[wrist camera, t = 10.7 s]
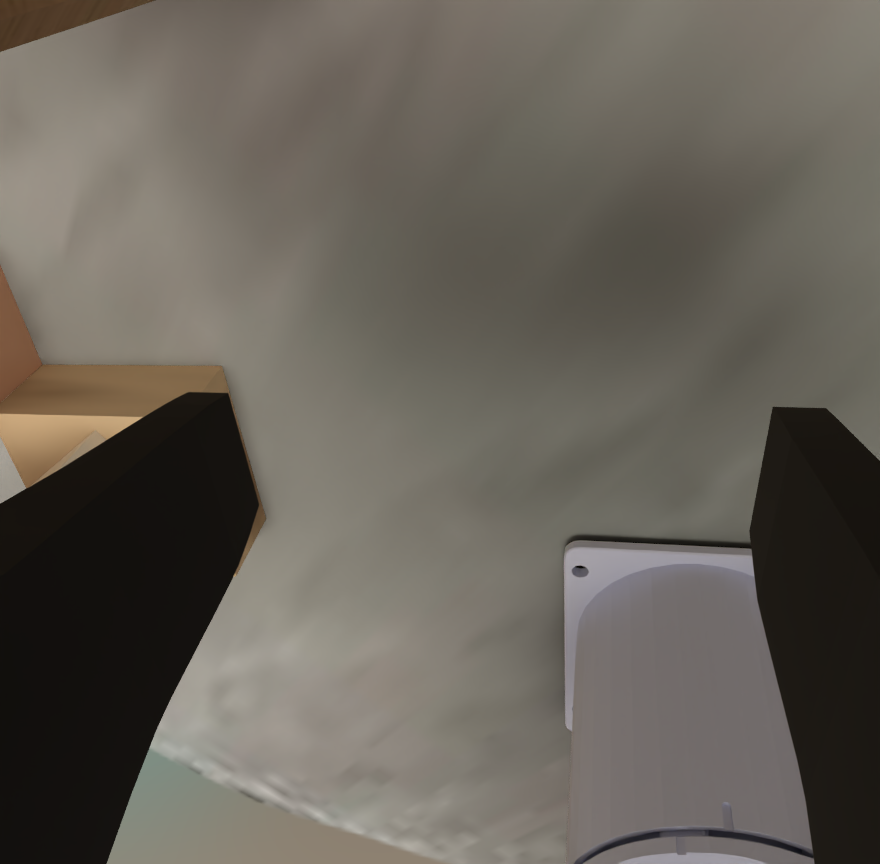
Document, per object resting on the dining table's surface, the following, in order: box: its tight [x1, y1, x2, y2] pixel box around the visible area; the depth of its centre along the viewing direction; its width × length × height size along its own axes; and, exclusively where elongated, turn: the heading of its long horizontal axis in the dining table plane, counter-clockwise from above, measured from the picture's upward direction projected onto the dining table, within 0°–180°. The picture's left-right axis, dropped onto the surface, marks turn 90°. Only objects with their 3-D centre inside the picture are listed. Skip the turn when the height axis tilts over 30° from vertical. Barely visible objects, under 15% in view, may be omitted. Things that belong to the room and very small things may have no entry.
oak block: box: [0, 365, 266, 576], centre depth 25 cm, size 6×6×3 cm
